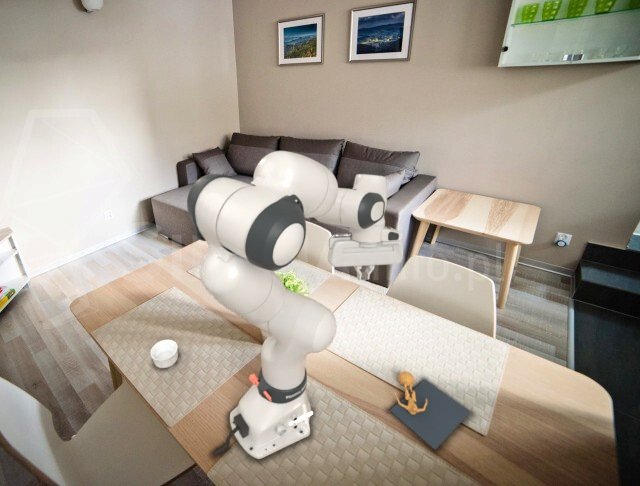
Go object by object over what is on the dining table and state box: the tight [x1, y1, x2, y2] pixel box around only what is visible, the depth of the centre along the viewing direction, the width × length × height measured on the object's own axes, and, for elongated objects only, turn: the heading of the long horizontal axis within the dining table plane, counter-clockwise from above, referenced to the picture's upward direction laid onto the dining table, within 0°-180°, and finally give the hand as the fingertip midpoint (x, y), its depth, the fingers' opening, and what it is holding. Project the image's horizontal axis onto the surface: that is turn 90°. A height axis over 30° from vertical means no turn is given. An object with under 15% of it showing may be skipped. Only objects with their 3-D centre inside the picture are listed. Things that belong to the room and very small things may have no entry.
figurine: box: [393, 370, 427, 415], centre depth 89 cm, size 8×6×12 cm
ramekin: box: [149, 339, 179, 369], centre depth 108 cm, size 9×9×4 cm
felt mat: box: [389, 379, 471, 451], centre depth 86 cm, size 16×12×1 cm
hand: (363, 278), depth 92 cm, fingers closed
